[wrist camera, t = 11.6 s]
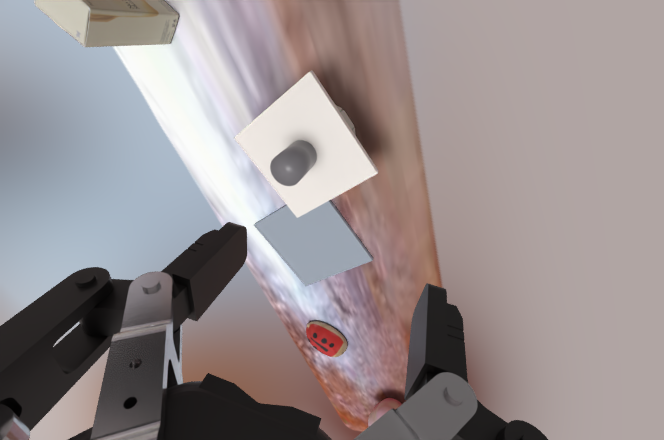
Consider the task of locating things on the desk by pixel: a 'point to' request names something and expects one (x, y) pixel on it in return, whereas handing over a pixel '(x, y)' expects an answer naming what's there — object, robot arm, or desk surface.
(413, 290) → the desk surface
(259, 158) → the lid
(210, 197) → the desk surface
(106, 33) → the skincare box
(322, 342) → the ladybug figurine
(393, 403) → the decorative fruit
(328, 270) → the mat
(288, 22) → the desk surface
